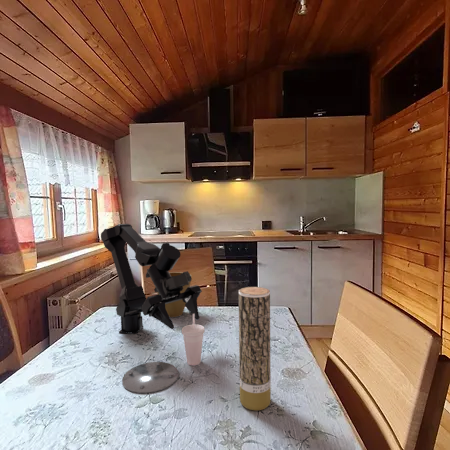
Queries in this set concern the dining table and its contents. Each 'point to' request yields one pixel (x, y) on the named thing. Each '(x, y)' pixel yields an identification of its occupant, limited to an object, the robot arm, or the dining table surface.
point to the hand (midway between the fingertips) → (186, 323)
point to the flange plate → (150, 377)
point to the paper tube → (254, 347)
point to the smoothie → (193, 342)
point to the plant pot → (177, 306)
